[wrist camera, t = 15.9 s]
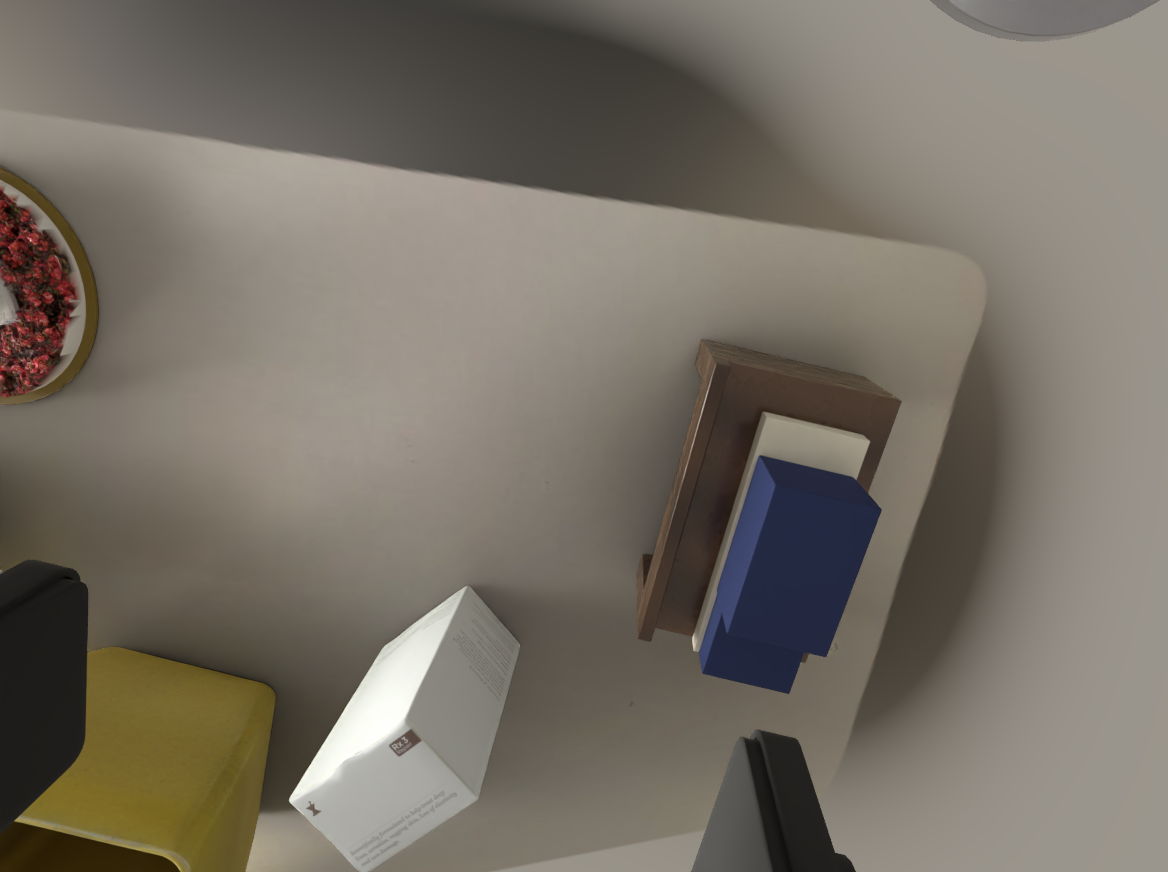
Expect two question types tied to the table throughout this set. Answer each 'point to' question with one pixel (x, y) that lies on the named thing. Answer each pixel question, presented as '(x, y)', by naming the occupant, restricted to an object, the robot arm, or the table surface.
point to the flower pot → (153, 774)
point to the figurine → (41, 296)
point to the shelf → (741, 464)
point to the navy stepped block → (786, 554)
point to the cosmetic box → (413, 734)
